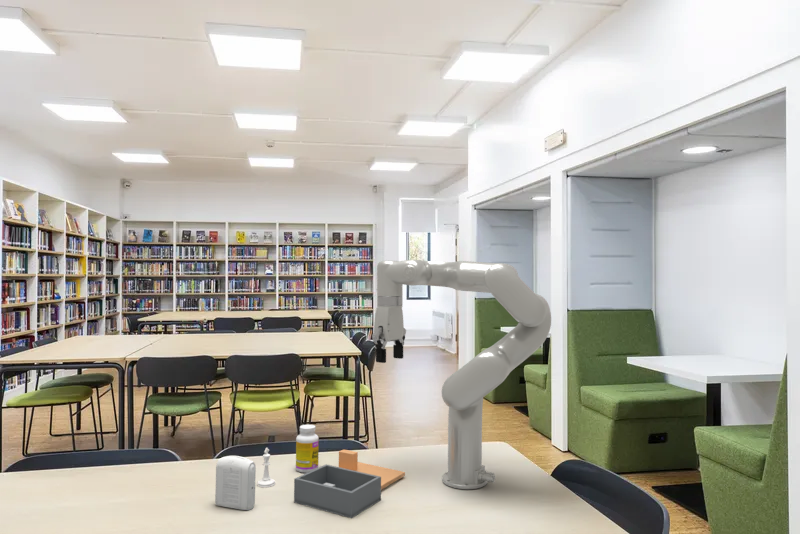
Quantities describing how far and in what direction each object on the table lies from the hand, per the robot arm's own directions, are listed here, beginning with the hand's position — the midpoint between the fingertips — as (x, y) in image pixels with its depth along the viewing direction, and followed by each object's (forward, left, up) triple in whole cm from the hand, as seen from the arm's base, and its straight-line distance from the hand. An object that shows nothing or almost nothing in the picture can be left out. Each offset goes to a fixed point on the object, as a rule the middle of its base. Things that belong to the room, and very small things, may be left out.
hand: (389, 360), depth 168 cm
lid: (+3, +8, -32) cm, 34 cm away
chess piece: (+24, +26, -33) cm, 49 cm away
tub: (0, +25, -33) cm, 41 cm away
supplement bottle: (+22, +11, -33) cm, 41 cm away
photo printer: (+20, +41, -33) cm, 56 cm away
